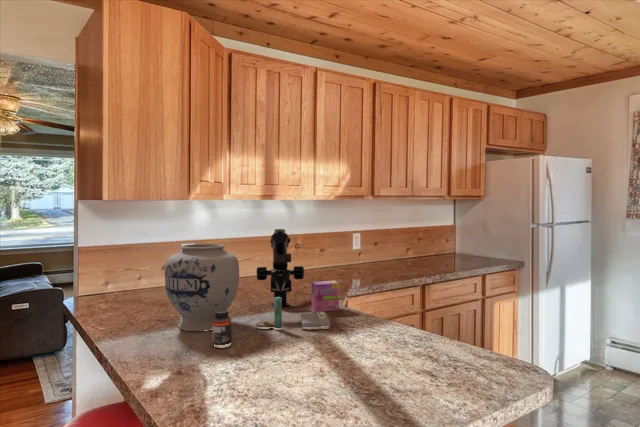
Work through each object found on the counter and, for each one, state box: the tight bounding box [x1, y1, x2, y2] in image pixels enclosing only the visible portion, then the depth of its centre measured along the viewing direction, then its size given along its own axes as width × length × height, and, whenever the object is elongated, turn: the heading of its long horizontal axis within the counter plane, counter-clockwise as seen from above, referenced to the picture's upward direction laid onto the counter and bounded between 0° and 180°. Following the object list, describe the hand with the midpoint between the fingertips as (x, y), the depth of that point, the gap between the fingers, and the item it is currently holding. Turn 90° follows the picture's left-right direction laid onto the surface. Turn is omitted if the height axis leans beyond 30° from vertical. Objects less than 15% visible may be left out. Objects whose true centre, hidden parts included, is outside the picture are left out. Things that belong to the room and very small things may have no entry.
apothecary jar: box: [164, 243, 240, 332], centre depth 161 cm, size 27×27×30 cm
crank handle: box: [255, 297, 283, 328], centre depth 157 cm, size 7×11×12 cm, turn 41°
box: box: [311, 280, 340, 312], centre depth 182 cm, size 10×6×12 cm, turn 105°
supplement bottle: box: [212, 309, 233, 345], centre depth 138 cm, size 6×6×11 cm
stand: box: [299, 311, 331, 328], centre depth 161 cm, size 14×10×5 cm
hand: (280, 291), depth 167 cm, fingers closed
